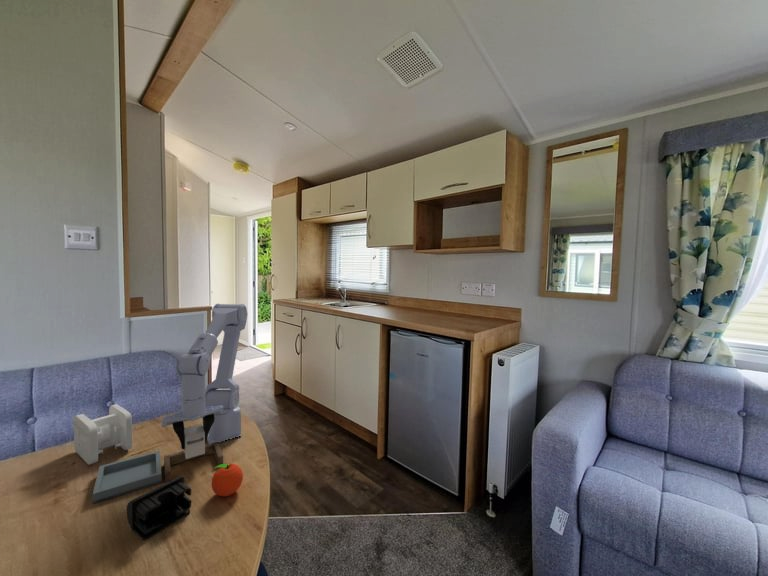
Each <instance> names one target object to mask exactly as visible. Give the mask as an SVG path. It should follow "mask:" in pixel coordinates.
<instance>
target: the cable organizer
mask: <svg viewBox="0 0 768 576" xmlns="http://www.w3.org/2000/svg"><path fill="white" fill-rule="evenodd" d="M108 409H109V410H108V411H109V414H108V415H105V416H102V417H98V418H94V419H93V418H92V419H90V418H89V417H88V416H86V415H85V414H84V413H81V414H77V415H74V416H73V419H72V421H73V422H72V424H73V447H74V450H75V453H77V454H78V455H79V457H80V458H81V459H82V460H83V461H84V462H85V463H86V464H87V465H93V464H96V463H97V462H98V461H99V454H101V455H104V449H106V448H109V447H112V446H114V449H115V450H117V448H118V447H119V448H121V449H123V451H128V450H129V449H132V447H133V417H132V414H131V412H130V411H128V410H126V409H125V408H124V407H122V406H120V405H119V404H117V403H115V404H112V405H110V406H109V408H108Z"/></svg>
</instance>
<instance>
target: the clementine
mask: <svg viewBox="0 0 768 576" xmlns="http://www.w3.org/2000/svg"><path fill="white" fill-rule="evenodd" d="M216 468H217V470H216V471H215V472H214V473H213V476H212V478H211V489H212V491H213V492H214V494H216V495H217V496H219V497H229V496H231V495H233V494H234V493H236V492H237V491H238V490H239V489H240V487H241V486H242V483H243V479H244V473H243V470H242V468H241V467H240V466H239V465H238V464H236V463H223V464H221V465H218V464H217V466H215V467H214V469H216ZM214 469H212V470H211V472H213V471H214Z"/></svg>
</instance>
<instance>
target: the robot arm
mask: <svg viewBox="0 0 768 576" xmlns="http://www.w3.org/2000/svg"><path fill="white" fill-rule="evenodd" d="M247 319H248V310H247V306H246V304H245V303H240V304H236V303H233V304H232V303H229V304H228V303H215V304H214V306H213V307H212V310H211V321H210V323H209V324H208V327H207V329H206V330H205V332H204V333H201V334H199V335H198V337H196V340H195V341H194V343H193V344H192V346H191V347H190V349H189V350H188V351H187V352H186V353H184V354H182V355H180V356H179V357H178V360H177V362H176V366H175V370H176V371H175V372H176V373H177V374H176V375H178V381H179V382H180V384H181V385H180V386H181V388H180V392H181V393H180V396H181V397H180V398H181V411H180V412H177V413H174V414H171V415H168V416H164V417H161V428H167V426H171V425H172V430H173V431H174V433H175V434H176V436H177V438H178V440H179V442H180V446H181V447H180V448H181V450H184V449H185V441H184V428H185V424H184V423H185V422H188V421H190V422H191V421H192V422H193V421H198V420H200V419H202V426H203V429H204V432H205V444H207V443H208V444H211V443H215V442H219V443H223V442H226V441H225V440H227V441H229V440H228V439H230V440H232V439H231V438H234V439H236V438H235V437H238V438H240V437H239V436H241V435H242V414H241V409H240V406H238V405H239V401H240V386H239V384H238V383H237V382H236V381H234V380H233V377H234V370H235V365H236V364H235V363H236V357H237V354H238V348H239V347H238V346H239V342H240V341H239V340H240V335H241V331H243V330H245V329H246V324H247ZM222 332H223V339H222V344H221V349H220V355H219V360H218V363H217V364H218V365H217V370H216V375H215V379H214V380H213V381H212V382H210V383H208V384H207V385H206V374H207V372H208V371H209V369H210V364H211V361H212V357H211V356H212V355H213V354H214V351H215V349H216V348H217V346H218V344H219V341H218V337H219V336H220V334H221V333H222ZM241 437H242V436H241ZM222 441H223V442H222Z"/></svg>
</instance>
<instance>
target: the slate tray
mask: <svg viewBox="0 0 768 576" xmlns="http://www.w3.org/2000/svg"><path fill="white" fill-rule="evenodd" d="M161 459H162V458H161V450H156V451H152V452H148V453H145V454H142V455H141V454H140V455H137V456H134V457H129V458H126V459H122V460H118V461H115V462H111V463H106V464H103V465H99V467H98V471H97V475H96V478H95V479H96V480H95V483H94V488H93V492H92V505H95V504H98V503H100V502H104V501H107V500H110V499H113V498H116V497H121V496H123V495H126V494H130V493H133V492H137V491H139V490H142V489H147V488H149V487H151V486H155V485H158V484H162V463H161V462H162V461H161Z"/></svg>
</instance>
